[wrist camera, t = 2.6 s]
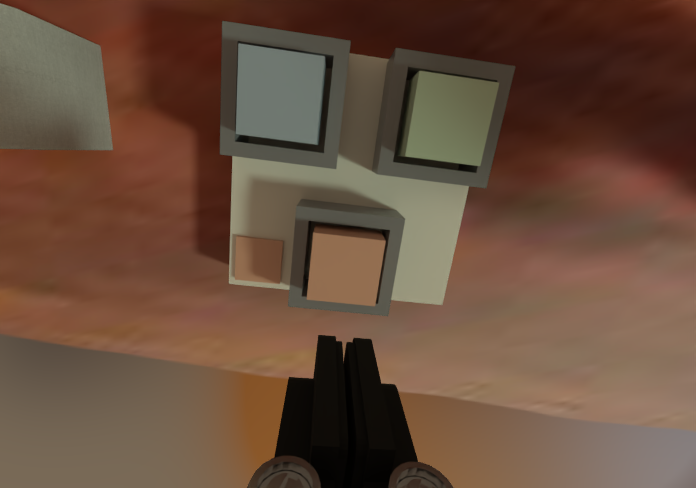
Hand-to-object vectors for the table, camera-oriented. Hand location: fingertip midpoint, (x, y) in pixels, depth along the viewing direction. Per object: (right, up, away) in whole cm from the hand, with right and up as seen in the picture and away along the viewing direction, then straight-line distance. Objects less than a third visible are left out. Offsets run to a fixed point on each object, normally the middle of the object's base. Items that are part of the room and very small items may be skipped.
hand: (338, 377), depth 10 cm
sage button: (+6, +11, +9) cm, 16 cm away
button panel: (0, +9, +15) cm, 17 cm away
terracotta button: (0, +3, +11) cm, 12 cm away
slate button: (-3, +12, +9) cm, 15 cm away
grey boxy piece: (-18, +15, +13) cm, 27 cm away
